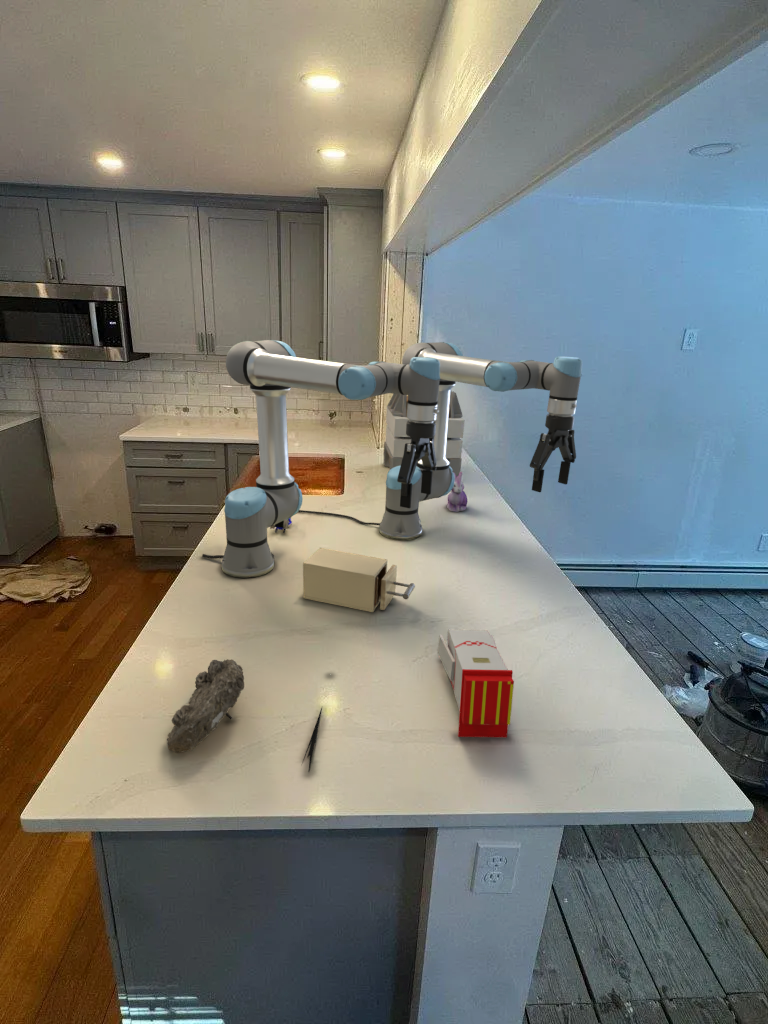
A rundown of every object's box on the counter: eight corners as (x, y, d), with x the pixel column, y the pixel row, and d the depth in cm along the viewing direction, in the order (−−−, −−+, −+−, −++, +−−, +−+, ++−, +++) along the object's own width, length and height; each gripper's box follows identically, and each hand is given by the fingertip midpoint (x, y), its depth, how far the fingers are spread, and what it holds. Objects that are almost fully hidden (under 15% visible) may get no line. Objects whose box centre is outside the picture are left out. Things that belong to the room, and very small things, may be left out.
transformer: (382, 463, 289) (386, 382, 275) (445, 464, 293) (451, 384, 279) (390, 482, 257) (394, 392, 243) (460, 483, 261) (468, 394, 247)
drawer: (415, 597, 154) (417, 568, 151) (405, 614, 146) (407, 584, 143) (332, 581, 161) (332, 553, 158) (318, 596, 152) (318, 567, 149)
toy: (488, 613, 130) (523, 677, 101) (484, 667, 133) (517, 744, 104) (435, 612, 130) (455, 676, 101) (432, 666, 133) (451, 743, 103)
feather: (331, 679, 122) (336, 673, 122) (307, 777, 96) (313, 769, 95) (324, 675, 122) (329, 669, 121) (298, 772, 95) (304, 764, 95)
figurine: (454, 513, 222) (457, 476, 217) (439, 505, 230) (442, 470, 225) (473, 510, 226) (477, 474, 221) (459, 503, 234) (462, 468, 229)
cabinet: (385, 593, 158) (387, 559, 154) (372, 612, 148) (374, 575, 144) (319, 581, 163) (320, 547, 160) (303, 598, 153) (303, 562, 150)
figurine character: (289, 539, 194) (294, 519, 208) (288, 519, 191) (294, 500, 204) (269, 538, 194) (276, 518, 208) (268, 518, 191) (275, 499, 204)
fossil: (192, 660, 117) (244, 628, 112) (224, 691, 120) (276, 661, 115) (142, 746, 98) (202, 712, 93) (182, 779, 101) (242, 748, 96)
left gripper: (415, 430, 131) (409, 516, 139) (452, 415, 153) (445, 490, 160) (386, 426, 135) (382, 510, 142) (426, 412, 156) (421, 485, 163)
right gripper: (547, 420, 147) (536, 498, 155) (595, 412, 163) (583, 483, 171) (523, 416, 153) (513, 491, 160) (572, 408, 169) (561, 477, 176)
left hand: (415, 500), depth 151 cm, fingers open, 13 cm apart
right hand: (549, 487), depth 165 cm, fingers open, 13 cm apart
